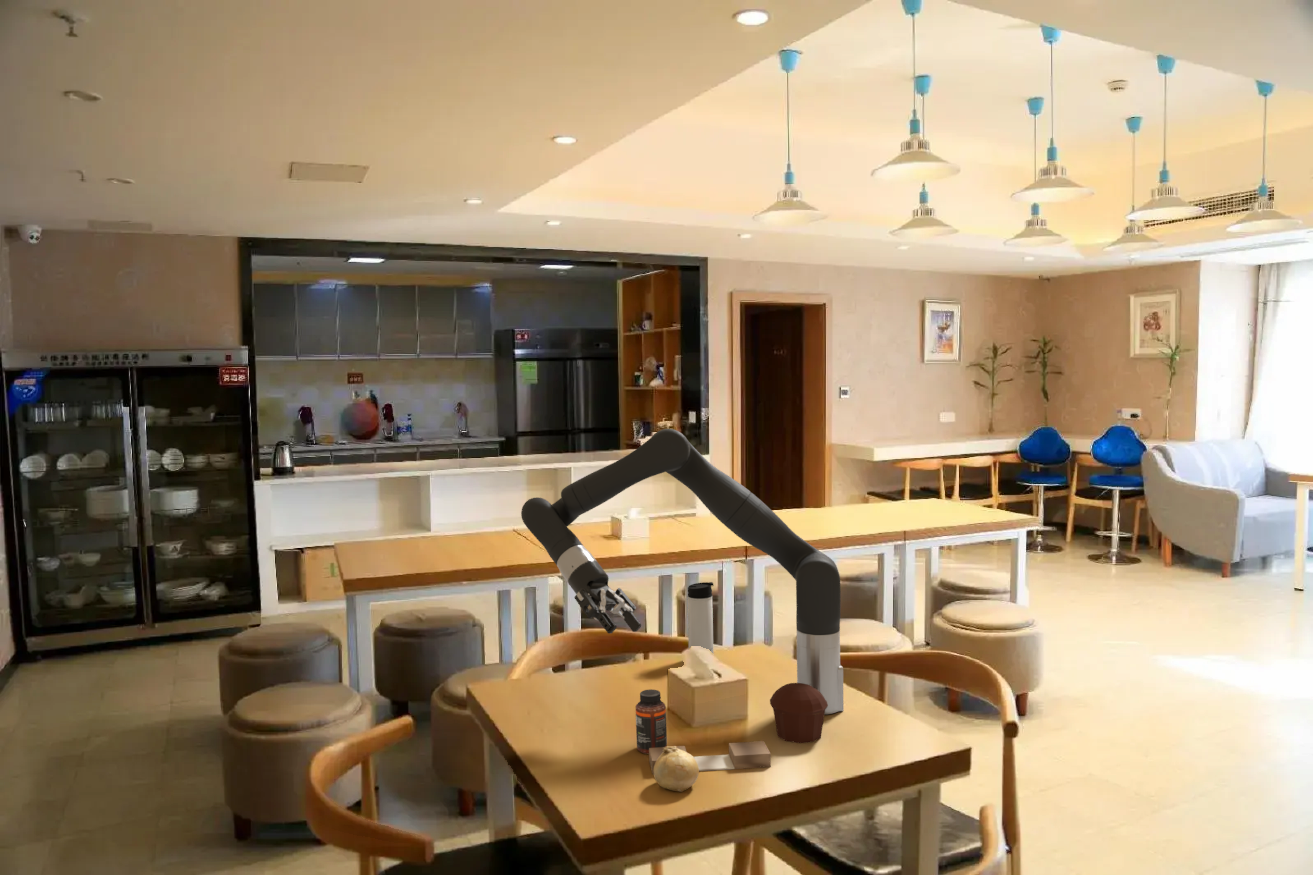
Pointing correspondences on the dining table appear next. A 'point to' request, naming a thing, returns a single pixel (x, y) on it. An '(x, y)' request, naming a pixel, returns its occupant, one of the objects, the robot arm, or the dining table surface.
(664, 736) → the supplement bottle
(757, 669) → the dining table surface
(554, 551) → the robot arm
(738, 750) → the rail
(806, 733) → the muffin
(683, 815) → the dining table surface
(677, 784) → the onion
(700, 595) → the travel mug
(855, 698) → the dining table surface
